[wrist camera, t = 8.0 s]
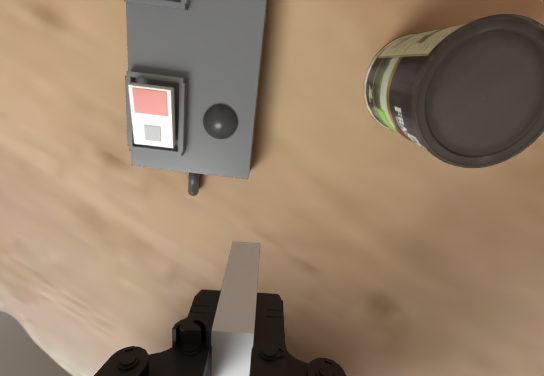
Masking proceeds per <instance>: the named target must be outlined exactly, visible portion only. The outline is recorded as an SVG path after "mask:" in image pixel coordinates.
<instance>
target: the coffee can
mask: <svg viewBox="0 0 544 376" xmlns="http://www.w3.org/2000/svg"><path fill="white" fill-rule="evenodd" d="M364 98H365V103H366V106H367V108H368V110H369V112H370V114H371V115H372V117H373V118H374V119H375V120H376V121H377V122H378V123H379V124H381V125H382V126H384V127H386V128H388V129H390V130H392V131H394V132H396V133H398V134H400V135H401V136H403V137H405V138H407V139H408V140H410V141H412V142H414V143H416V144H417V145H419V146H421V147H423V148H424V149H426V150H428V151H429V152H430V153H431V154H432V155H434V156H435V157H437V158H438V159H440V160H442V161H443V162H446V163H448V164H451V165H454V166H458V167H464V168H482V167H487V166H492V165H495V164H498V163H501V162H503V161H506V160H508V159H510V158H512V157H514V156H516V155H517V154H519V153H520V152H522V151H523V150H525V149H526V148H527V147H529V146H530V145H531V144H532V143H533V142H534V141H535V140H536V139H537V138H538V137H539V136H540V135H541V134H542V133H543V132H544V26H543V25H542V24H540V23H539V22H537V21H535V20H533V19H531V18H528V17H524V16H520V15H514V14H501V15H493V16H488V17H485V18H481V19H478V20H475V21H472V22H470V23H467V24H462V25H457V26H453V27H448V28H444V29H439V30H434V31H429V32H424V33H419V34H409V35H406V36H403V37H400V38H398V39H395V40H394V41H392V42H390V43H389V44H388V45H386V46H385V47H384V48H383V49H382V50H381V51H380V52H379V53H378V54H377V55H376V56H375V58H374V59H373V61H372V63H371V64H370V66H369V68H368V71H367V74H366V77H365V82H364Z"/></svg>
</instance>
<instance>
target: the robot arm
mask: <svg viewBox="0 0 544 376" xmlns="http://www.w3.org/2000/svg"><path fill="white" fill-rule="evenodd" d="M259 256H260V243H247V242H234V241H233V243H232V247H231V251H230V255H229V259H228V264H227V268H226V272H225V276H224V280H223V285H222V289H221V291H215V290H201V291H200V292H199V293H198V294H197V295H196V296H195V297H194V300H193V303H192V306H191V309H190V313H189V315H188V317H187V318H185V319H182V320H180V321H179V322H178V323H176V324H175V326H174V327H173V329H172V341H173V347H172V348H170V349H168V350H166V351H163V352H160V353H155V354H150V355H148V353H147V352H146V350H145V349H143V348H141V347H135V346H131V347H126V348H123V349H121V350H119V351H117V352H116V353H115V354H113V355H112V356H111V357H110V358H109V359H108V360H107V362H106V363H105V364H104V365H103V366H102V367H101V368H100V369H99V371H98V372H97V373H96V374H95V375H94V376H346V375H345V373H344V371H343V369H342V368H341V367H340V365H339V364H337V363H336V362H334V361H333V360H330V359H327V358H317V359H314V360H312V361H311V362H310V363H309V364H308V363H305V362H302V361H300V360H297V359H295V358H294V357H293V356H291V355H290V353H289V352H288V351H287V349H286V346H285V334H284V313H283V301H282V300H281V298H280V296H279V295H278V294H268V293H257V284H258V270H259Z"/></svg>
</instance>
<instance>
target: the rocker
mask: <svg viewBox="0 0 544 376" xmlns="http://www.w3.org/2000/svg"><path fill="white" fill-rule="evenodd" d="M128 89H129V98H130V107H131V117H132V126H133V136H134V144H142V145H150V146H158V147H167V148H174V146H175V145H176V136H175V108H174V88H172V87H165V86H157V85H149V84H141V83H133V82H132V83H131V84H129V85H128Z"/></svg>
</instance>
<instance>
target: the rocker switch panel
mask: <svg viewBox="0 0 544 376" xmlns="http://www.w3.org/2000/svg"><path fill="white" fill-rule="evenodd" d="M124 1H125V2H126V16H127V46H128V71H127V76H125V85H126V113H127V140H128V146H129V151H131V166H139V167H148V168H156V169H165V170H173V171H182V172H189V183H188V192H189V194H190V195H191V196H195V195H197V194H198V191H199V174H207V175H215V176H224V177H232V178H241V179H248V178H249V174H250V168H251V158H252V148H253V138H254V129H255V119H256V109H257V99H258V89H259V80H260V70H261V60H262V50H263V40H264V31H265V21H266V11H267V1H268V0H124ZM132 82H133V83H141V84H149V85H157V86H165V87H172V88H174V108H175V136H176V145H175V146H174V148H167V147H158V146H150V145H142V144H134V136H133V126H132V117H131V107H130V98H129V89H128V85H129V84H131V83H132Z"/></svg>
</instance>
